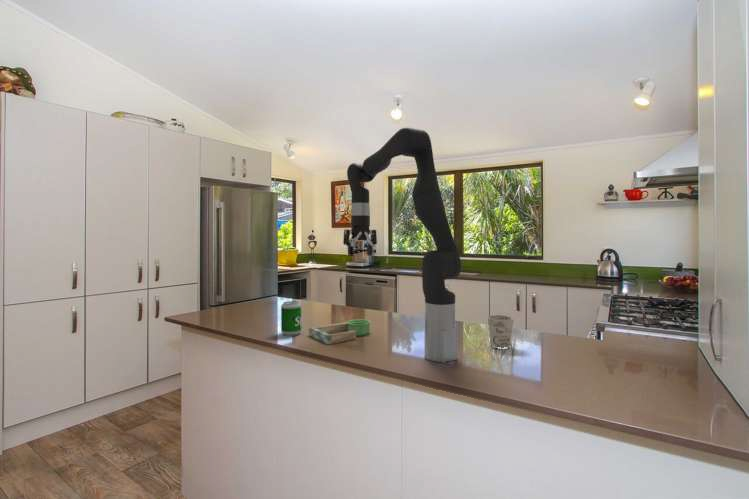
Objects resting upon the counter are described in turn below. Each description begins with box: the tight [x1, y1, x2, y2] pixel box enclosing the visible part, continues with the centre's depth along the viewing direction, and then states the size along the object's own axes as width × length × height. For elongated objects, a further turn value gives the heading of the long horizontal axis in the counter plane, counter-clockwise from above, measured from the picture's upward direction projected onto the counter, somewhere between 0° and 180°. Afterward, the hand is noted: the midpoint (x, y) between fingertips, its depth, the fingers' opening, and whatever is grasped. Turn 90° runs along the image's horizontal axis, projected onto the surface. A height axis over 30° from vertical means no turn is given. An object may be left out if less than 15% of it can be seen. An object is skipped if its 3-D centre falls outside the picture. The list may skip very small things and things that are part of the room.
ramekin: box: [346, 318, 371, 336], centre depth 155 cm, size 9×9×4 cm
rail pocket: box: [308, 321, 357, 345], centre depth 150 cm, size 14×20×3 cm
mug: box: [487, 314, 514, 348], centre depth 138 cm, size 8×13×10 cm, turn 152°
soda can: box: [280, 300, 303, 337], centre depth 153 cm, size 8×8×12 cm
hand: (360, 255), depth 160 cm, fingers open, 8 cm apart
